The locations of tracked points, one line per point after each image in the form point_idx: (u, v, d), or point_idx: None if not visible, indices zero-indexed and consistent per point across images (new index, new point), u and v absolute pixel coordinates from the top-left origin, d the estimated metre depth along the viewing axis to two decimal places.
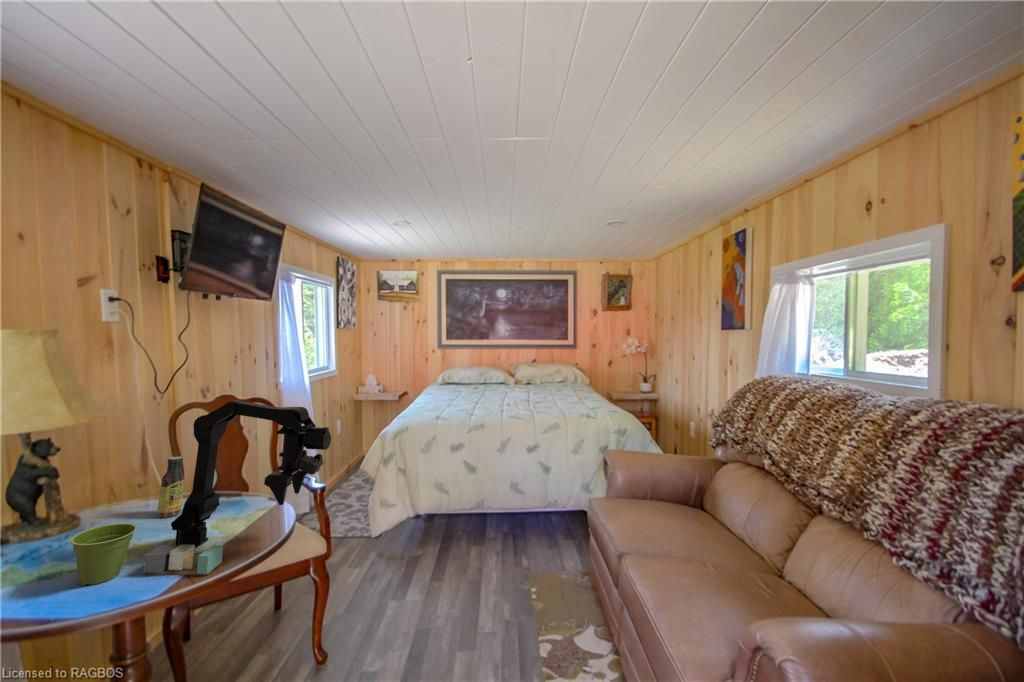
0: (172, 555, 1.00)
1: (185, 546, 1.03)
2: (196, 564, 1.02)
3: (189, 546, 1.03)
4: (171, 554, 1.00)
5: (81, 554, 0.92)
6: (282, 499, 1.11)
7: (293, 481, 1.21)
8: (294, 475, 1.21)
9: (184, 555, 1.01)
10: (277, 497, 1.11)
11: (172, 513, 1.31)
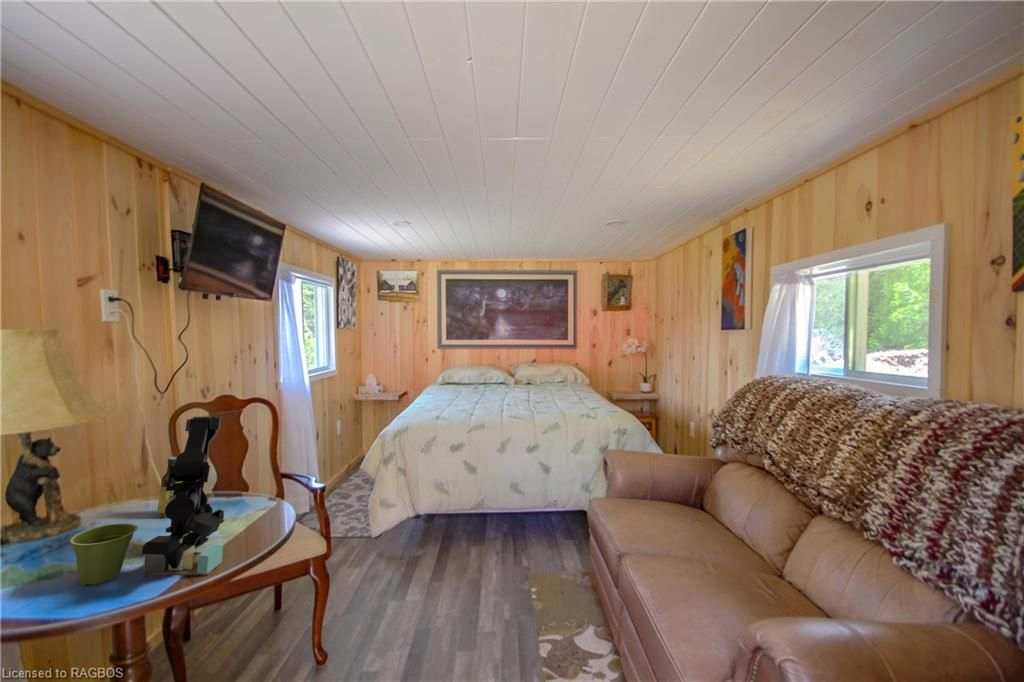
0: None
1: (185, 546, 1.03)
2: (196, 564, 1.02)
3: (189, 546, 1.03)
4: None
5: (81, 554, 0.92)
6: (176, 562, 0.99)
7: None
8: (184, 538, 1.04)
9: (184, 555, 1.01)
10: (169, 560, 0.99)
11: None
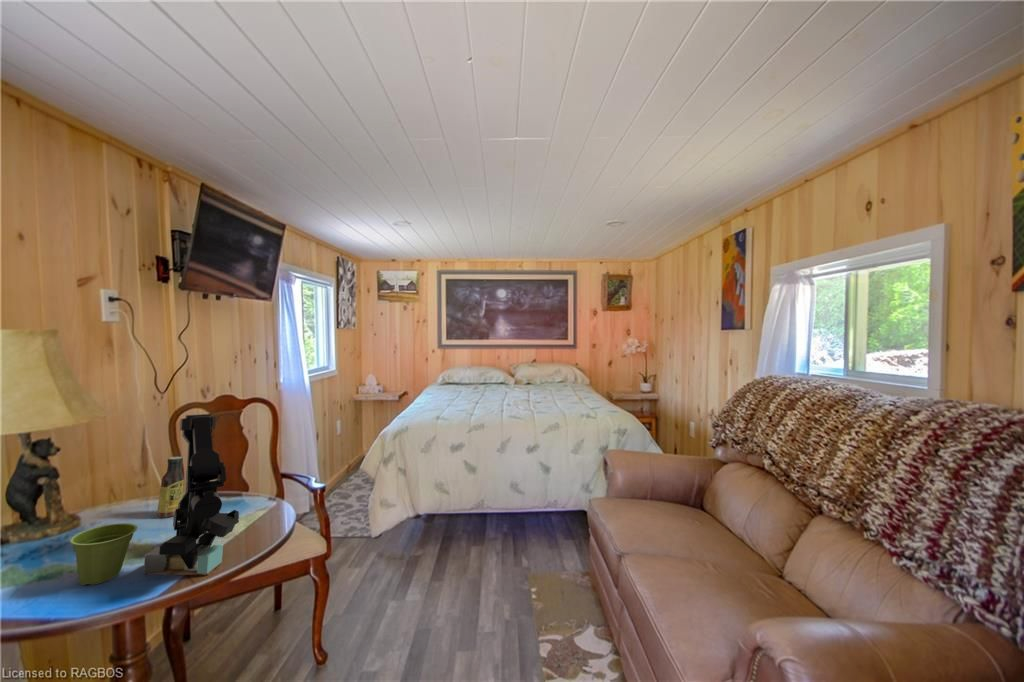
0: None
1: (200, 546, 1.03)
2: None
3: (204, 546, 1.03)
4: None
5: (81, 554, 0.92)
6: (192, 562, 1.00)
7: None
8: (200, 538, 1.05)
9: None
10: (186, 560, 0.99)
11: (172, 513, 1.31)
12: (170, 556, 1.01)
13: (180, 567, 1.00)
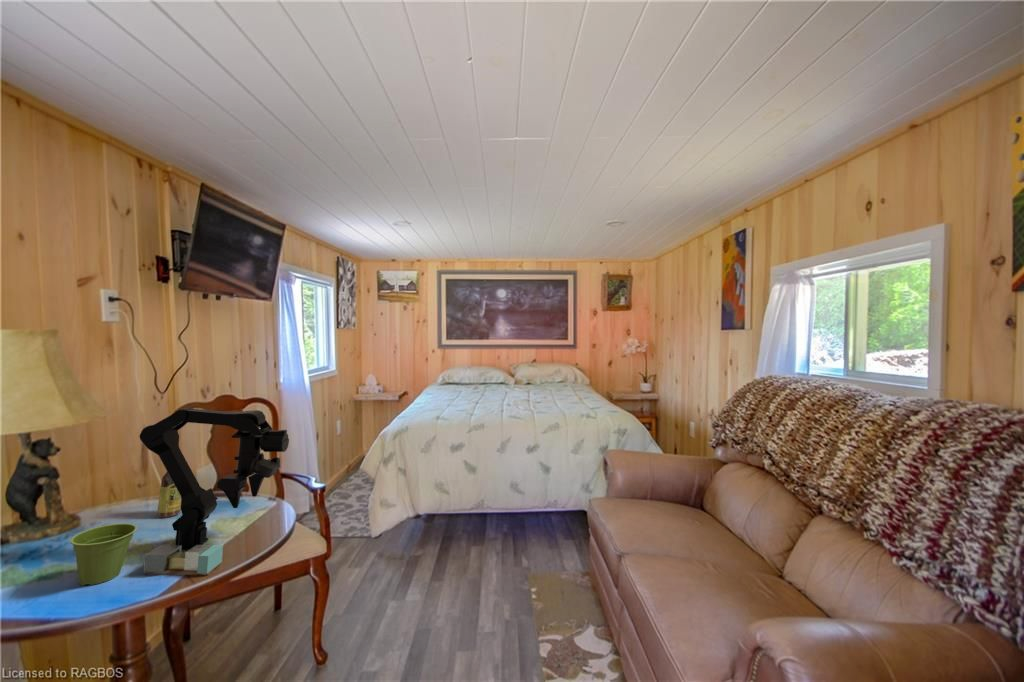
0: (188, 555, 1.00)
1: (200, 546, 1.03)
2: None
3: (204, 546, 1.03)
4: (187, 554, 1.00)
5: (81, 554, 0.92)
6: (237, 502, 1.12)
7: (251, 484, 1.22)
8: (252, 478, 1.23)
9: None
10: (231, 500, 1.12)
11: (172, 513, 1.31)
12: (170, 556, 1.01)
13: (180, 567, 1.00)
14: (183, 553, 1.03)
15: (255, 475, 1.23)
